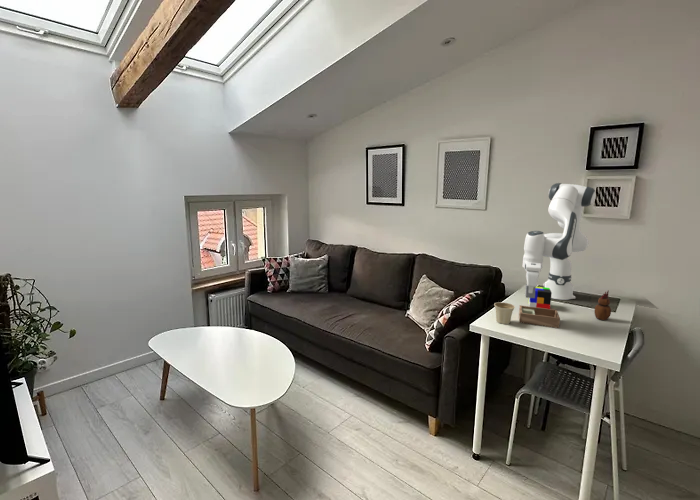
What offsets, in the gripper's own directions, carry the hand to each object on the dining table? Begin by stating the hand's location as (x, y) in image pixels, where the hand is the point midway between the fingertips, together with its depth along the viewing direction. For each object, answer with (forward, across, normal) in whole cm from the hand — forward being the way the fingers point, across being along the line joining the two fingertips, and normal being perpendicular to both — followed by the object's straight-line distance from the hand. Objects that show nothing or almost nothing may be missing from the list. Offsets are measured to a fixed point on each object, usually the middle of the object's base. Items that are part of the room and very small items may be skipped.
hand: (529, 291), depth 179 cm
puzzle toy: (+15, -26, +7) cm, 31 cm away
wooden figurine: (+15, -17, +35) cm, 42 cm away
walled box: (+15, 0, +5) cm, 16 cm away
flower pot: (+15, +8, -11) cm, 21 cm away
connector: (+3, 0, 0) cm, 3 cm away
